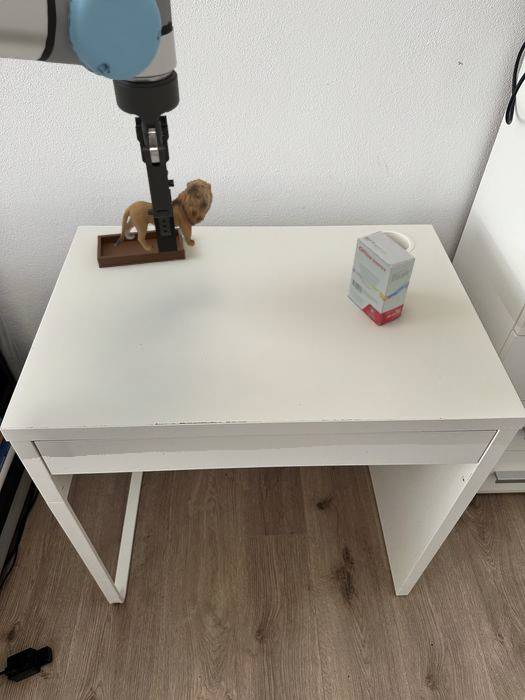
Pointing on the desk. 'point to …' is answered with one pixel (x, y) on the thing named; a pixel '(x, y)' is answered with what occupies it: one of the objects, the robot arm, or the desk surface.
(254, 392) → the desk surface
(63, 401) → the desk surface
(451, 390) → the desk surface
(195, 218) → the lion figurine
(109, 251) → the tray
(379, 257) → the ink box
